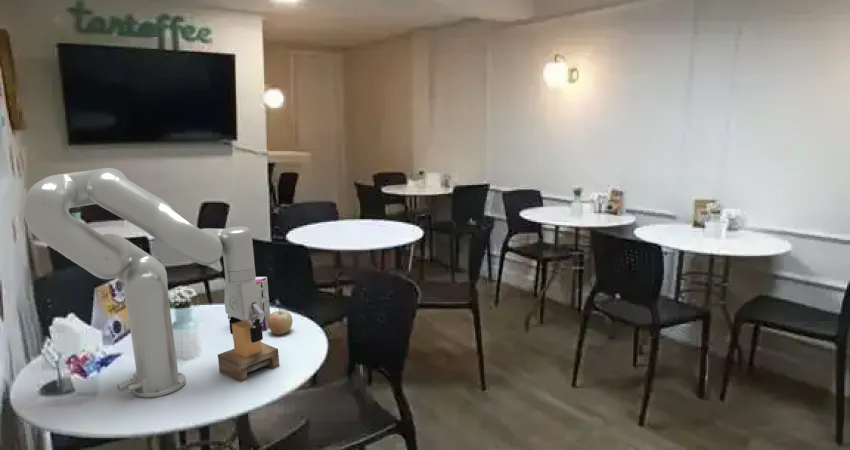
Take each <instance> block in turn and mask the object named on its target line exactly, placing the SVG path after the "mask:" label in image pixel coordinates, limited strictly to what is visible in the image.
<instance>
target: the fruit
mask: <svg viewBox="0 0 850 450" xmlns="http://www.w3.org/2000/svg"><path fill="white" fill-rule="evenodd" d="M278 309H279V310H276V311H273V312H272V313H271V312H270V315H269V317H268V326H269V328H268V329H269V330H270V332H272V333H273V334H275V335H277V336H279V335H284V334H287V333H288V332H289V331H290V330H291V328H292V327H293V326H292V325H293V317H292V314H291V313H290V312H289V311H286V310H284V309H283V310H281V307H279V308H278Z"/></svg>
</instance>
